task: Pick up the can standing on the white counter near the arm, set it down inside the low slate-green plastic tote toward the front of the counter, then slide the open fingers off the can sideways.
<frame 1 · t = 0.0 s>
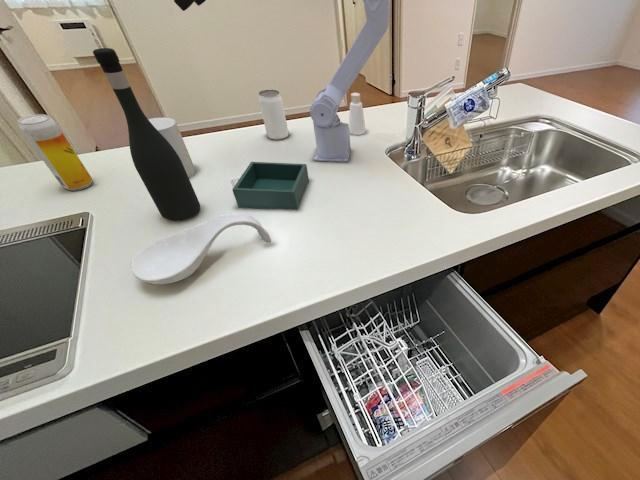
hand: (187, 3, 75), 32 cm above the worktop, tool tilted 50°, fingers open, 7 cm apart
wine bottle: (183, 214, 77), on the worktop
can: (278, 136, 107), on the worktop
tote: (275, 193, 84), on the worktop
spoon rest: (209, 260, 67), on the worktop
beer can: (79, 186, 83), on the worktop
pepper shaker: (357, 132, 112), on the worktop
cup: (178, 173, 89), on the worktop
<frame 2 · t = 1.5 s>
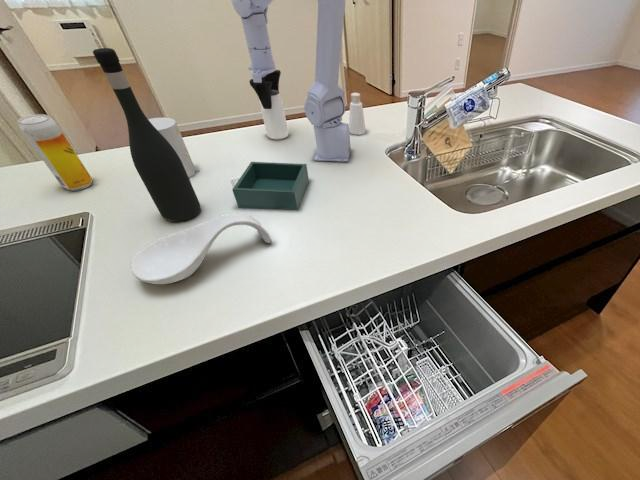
hand: (271, 103, 100), 9 cm above the worktop, tool pointing down, fingers open, 7 cm apart
nothing on the worktop moved.
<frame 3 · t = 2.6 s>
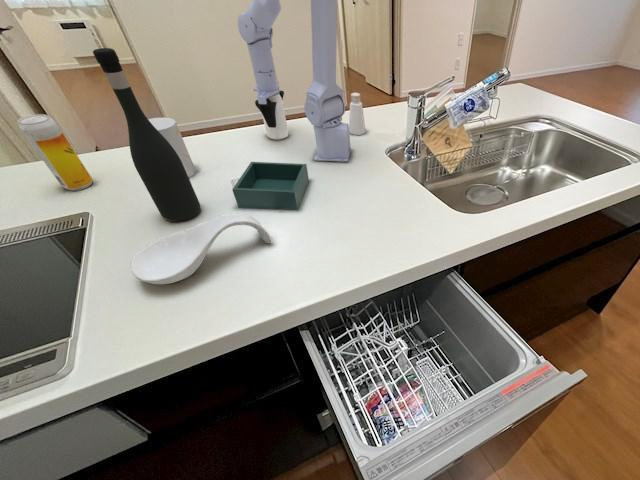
hand: (275, 122, 104), 4 cm above the worktop, tool pointing down, fingers closed on can, 6 cm apart
can: (278, 136, 107), on the worktop, touching gripper
everything else where it was.
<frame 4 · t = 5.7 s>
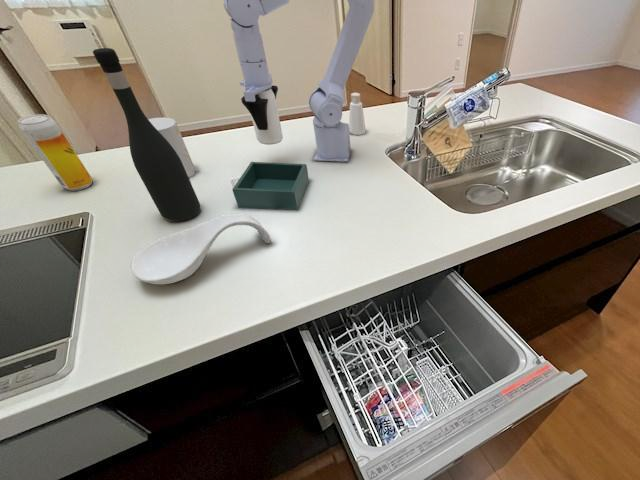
hand: (267, 124, 87), 10 cm above the worktop, tool pointing down, fingers closed on can, 6 cm apart
can: (270, 140, 90), point 6 cm above the worktop, touching gripper
everything else where it was.
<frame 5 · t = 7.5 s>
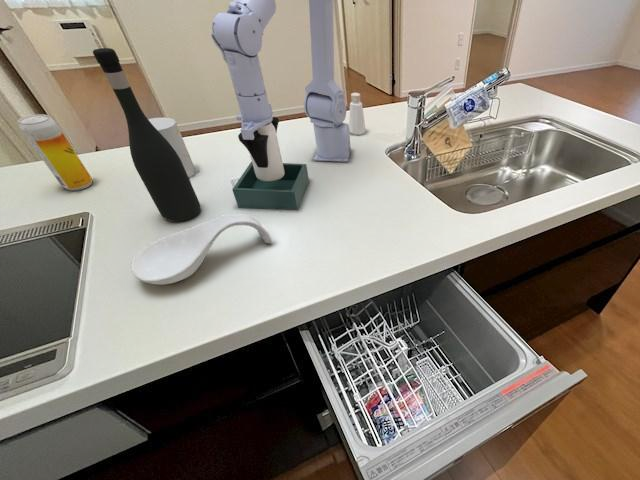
hand: (267, 159, 78), 8 cm above the worktop, tool pointing down, fingers closed on can, 6 cm apart
can: (271, 176, 81), point 4 cm above the worktop, touching gripper
everything else where it was.
when the fingers open (4 cm above the worktop, at t = 9.1 s): can stays where it is, resting on tote.
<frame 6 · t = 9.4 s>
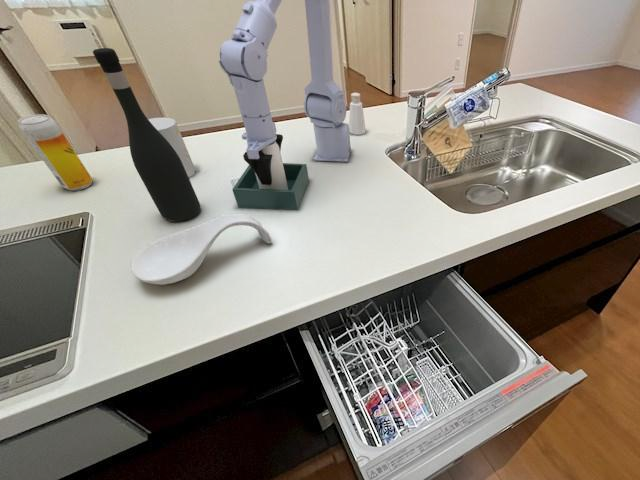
hand: (271, 175, 80), 5 cm above the worktop, tool pointing down, fingers open, 7 cm apart
can: (274, 192, 84), resting on tote
everything else where it was.
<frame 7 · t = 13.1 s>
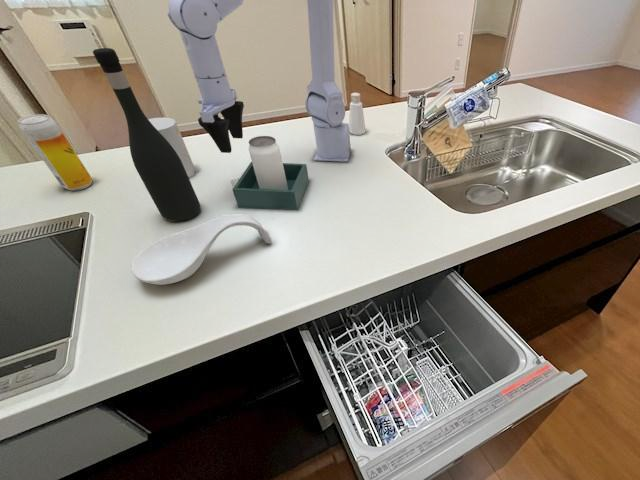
hand: (232, 144, 78), 10 cm above the worktop, tool pointing down, fingers open, 7 cm apart
nothing on the worktop moved.
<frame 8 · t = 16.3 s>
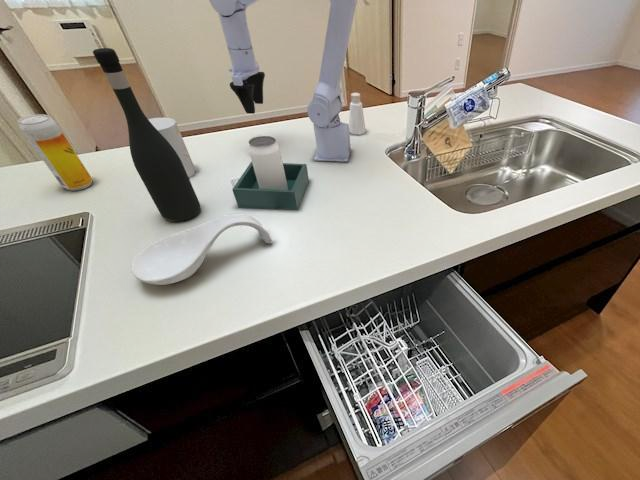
hand: (255, 108, 94), 10 cm above the worktop, tool pointing down, fingers open, 7 cm apart
nothing on the worktop moved.
at the end: can inside the target area in the tote (0.1 cm from its centre), point 0.3 cm above the tote's base; can tilted 0°; the gripper is holding nothing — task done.
